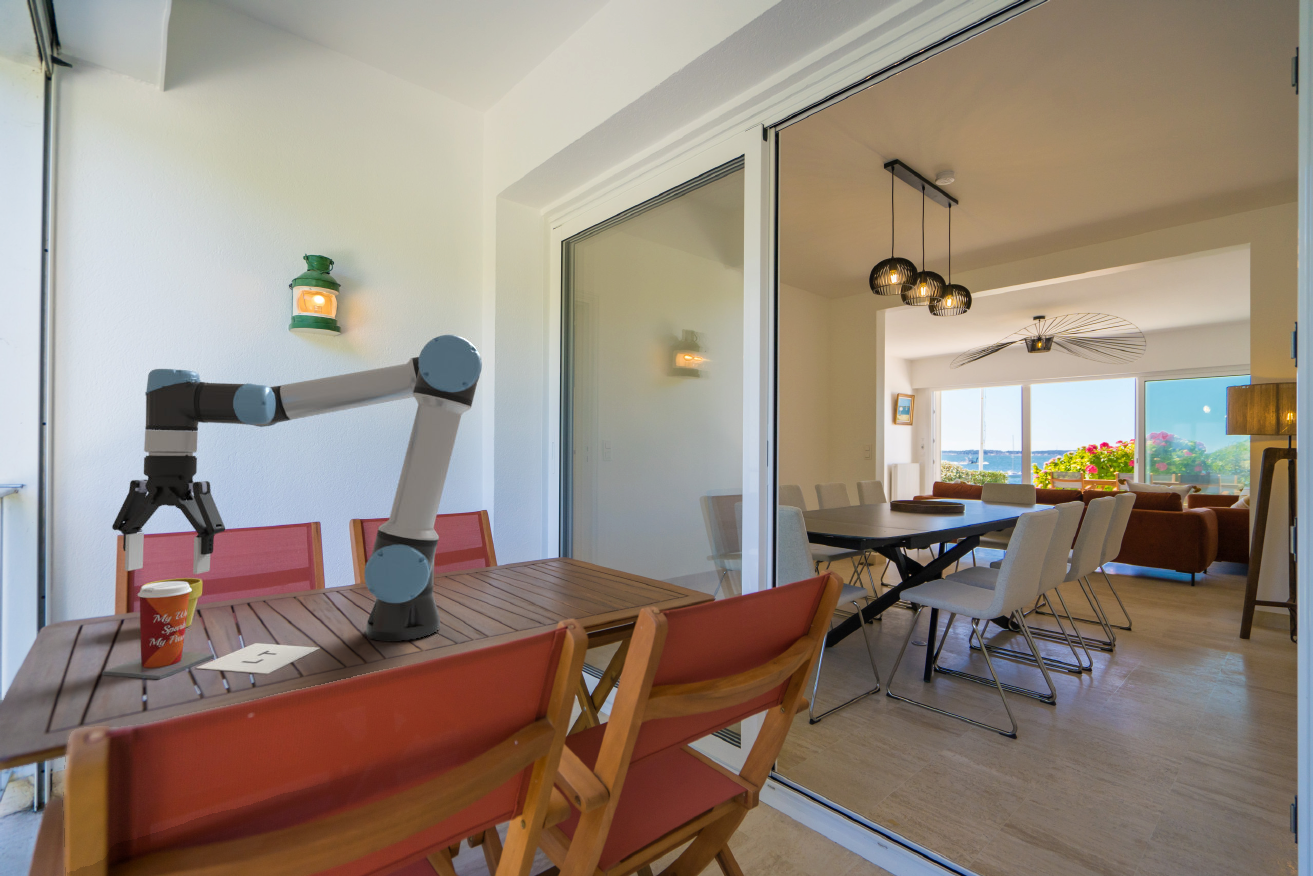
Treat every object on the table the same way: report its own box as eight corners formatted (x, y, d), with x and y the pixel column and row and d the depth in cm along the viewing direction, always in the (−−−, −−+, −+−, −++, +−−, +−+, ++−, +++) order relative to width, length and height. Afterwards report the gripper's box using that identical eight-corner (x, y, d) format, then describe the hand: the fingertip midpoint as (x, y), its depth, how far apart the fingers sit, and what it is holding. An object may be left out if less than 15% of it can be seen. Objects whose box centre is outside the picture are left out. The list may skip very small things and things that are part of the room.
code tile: (319, 648, 121) (319, 647, 121) (267, 674, 107) (267, 673, 107) (255, 644, 122) (255, 643, 122) (195, 668, 108) (195, 667, 108)
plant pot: (128, 630, 128) (130, 584, 128) (182, 618, 137) (184, 575, 138) (158, 637, 124) (160, 590, 124) (211, 624, 134) (213, 580, 134)
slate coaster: (213, 657, 114) (213, 654, 114) (160, 679, 103) (160, 675, 103) (161, 653, 115) (161, 650, 115) (102, 674, 104) (102, 671, 104)
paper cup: (157, 672, 104) (161, 591, 105) (122, 667, 106) (126, 587, 106) (199, 657, 112) (203, 582, 112) (166, 653, 114) (170, 579, 114)
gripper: (250, 455, 112) (246, 569, 112) (129, 452, 115) (126, 564, 114) (216, 455, 105) (212, 578, 104) (88, 453, 107) (84, 572, 107)
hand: (167, 571), depth 109 cm, fingers open, 13 cm apart
